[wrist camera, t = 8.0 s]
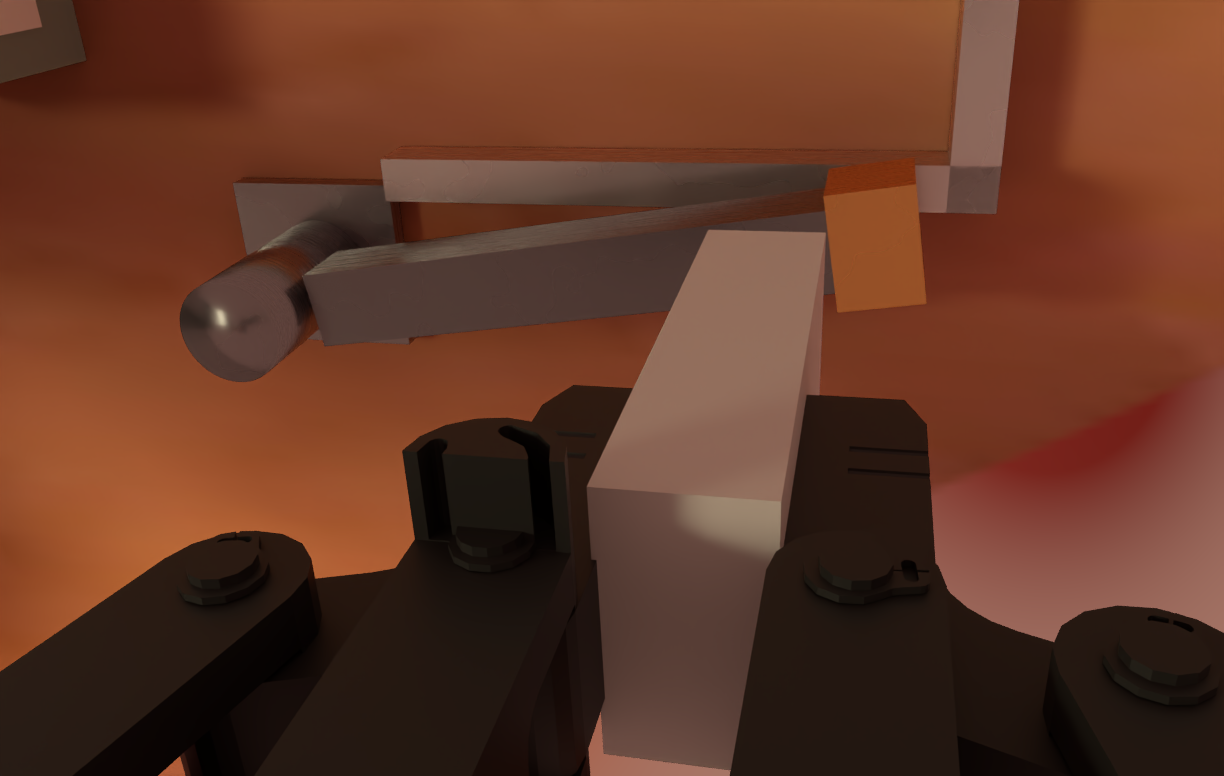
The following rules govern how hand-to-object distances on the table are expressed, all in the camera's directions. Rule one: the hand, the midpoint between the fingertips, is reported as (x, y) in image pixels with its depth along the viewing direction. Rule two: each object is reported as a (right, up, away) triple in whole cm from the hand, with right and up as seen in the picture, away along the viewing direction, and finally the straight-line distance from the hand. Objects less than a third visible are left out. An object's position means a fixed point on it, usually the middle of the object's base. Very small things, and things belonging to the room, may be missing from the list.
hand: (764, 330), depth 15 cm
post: (-11, +3, +20) cm, 23 cm away
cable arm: (-2, +3, +14) cm, 15 cm away
